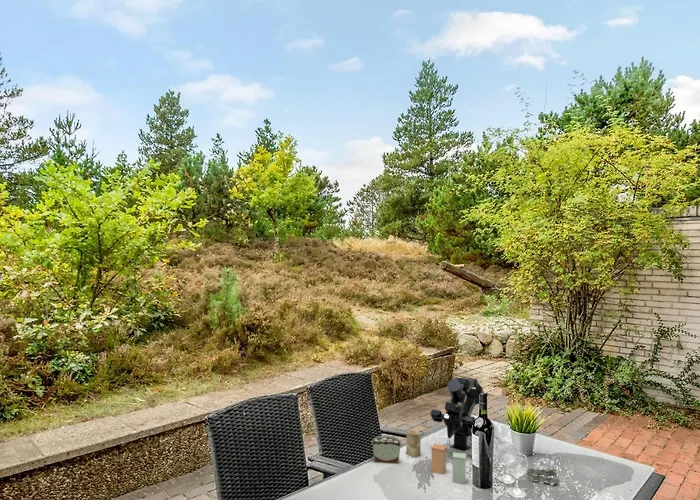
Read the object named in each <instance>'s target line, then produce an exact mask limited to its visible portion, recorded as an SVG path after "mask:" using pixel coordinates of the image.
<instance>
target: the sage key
mask: <svg viewBox="0 0 700 500" xmlns="http://www.w3.org/2000/svg"><path fill="white" fill-rule="evenodd" d="M451 458H452V482H453V483H457V484H458V483H459V484H466V461H467V453H463V452H454V451H452V457H451Z"/></svg>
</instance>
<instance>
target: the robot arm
mask: <svg viewBox="0 0 700 500" xmlns="http://www.w3.org/2000/svg"><path fill="white" fill-rule="evenodd" d="M446 387H447V390H448V392H449V396H450V397H451V398H450V401H449V402H448V401H445V405H444V411H445V413H442V410H438V409H432V410H431V411H430V417H431V419H432V421H433V422H437V423H442V422H443V424H444V425H445V426H446V431H447V439H451V438H452V437H453V444H452V445H450V448H451V449H454V450H458V451H461V452H465V451H467V450H468V449H470V448H471V446H470V445H468V438H469V437H471V436H472V435H473V432H472V431H473V429H472V425H473V422H474V421H475V420H476V418H475V416H471V415H472V413H473V411H474V409H475V406H477V405H480V404H479V394H480V393H484V388H483V387H482V386H481V384H480V383H479V381H478V379H477V378H472V377H468V378H464V377H463V378H462V377H453V379H451V380H449V381H448V382H447V384H446Z"/></svg>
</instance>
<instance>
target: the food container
mask: <svg viewBox="0 0 700 500" xmlns="http://www.w3.org/2000/svg"><path fill="white" fill-rule="evenodd" d="M370 446H372V452H373V462H374V463H382V464H397V465H398V464H399V462H400V461H399V460H400V453H401V448H403V445H402V442H401V439H399V438H397V437H395V436H392V435H391V436H390V435H380V436H376V437H374V438H373V439H372V441H371V444H370Z"/></svg>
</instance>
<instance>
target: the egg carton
mask: <svg viewBox="0 0 700 500" xmlns="http://www.w3.org/2000/svg"><path fill="white" fill-rule="evenodd" d="M526 472H527V473H526V480H528V481H529V482H531V481H533V482H535V481H534V480H538V481H540V482H544V481H547V482H549V483H555V482H556V483H557V479H558V475H557V469H556V468H551V467H550V468H547V469H545V468H541V469H539V468H531V467H527V469H526ZM540 475H544V477H543V476H540ZM545 476H546V477H545ZM548 476H553V478H548Z"/></svg>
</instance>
